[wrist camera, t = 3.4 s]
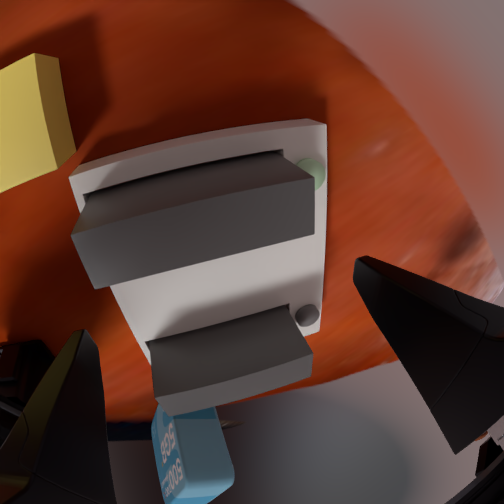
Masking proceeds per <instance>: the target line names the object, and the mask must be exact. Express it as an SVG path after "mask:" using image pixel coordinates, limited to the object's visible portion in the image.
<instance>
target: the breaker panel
mask: <svg viewBox="0 0 504 504" xmlns="http://www.w3.org/2000/svg"><path fill="white" fill-rule="evenodd" d="M264 151H274V152H276V153H278V154H279V155H281V156H282V157H284V158H286V159H287V160H289V161H290V162H292V163H293V164H295V165H297V166H298V167H300V168H301V169H303V170H304V171H306V172H307V173H309V174H310V175H312V176H313V177H315V234H314V235H310V236H306V237H302V238H298V239H294V240H290V241H286V242H282V243H278V244H274V245H270V246H266V247H262V248H258V249H254V250H250V251H246V252H242V253H238V254H234V255H230V256H226V257H222V258H218V259H214V260H210V261H206V262H202V263H198V264H194V265H190V266H186V267H182V268H178V269H174V270H170V271H166V272H162V273H159V274H155V275H151V276H147V277H143V278H139V279H135V280H131V281H127V282H123V283H119V284H115V285H111V286H110V288H111V290H112V292H113V294H114V296H115V298H116V300H117V302H118V304H119V307H120V309H121V311H122V313H123V315H124V317H125V319H126V321H127V322H128V324H129V326H130V328H131V330H132V332H133V334H134V336H135V338H136V340H137V341H138V343H139V345H140V347H141V349H142V350H143V352H144V354H145V356H146V357H147V359H148V361H149V363H150V364H151V358H150V346H149V340H154V339H158V338H162V337H166V336H171V335H175V334H179V333H183V332H187V331H191V330H195V329H199V328H203V327H206V326H210V325H214V324H218V323H222V322H225V321H229V320H233V319H236V318H240V317H243V316H247V315H250V314H254V313H257V312H261V311H264V310H268V309H271V308H275V307H278V306H281V305H285V306H286V307H287V309H288V311H289V313H290V314H291V316H292V318H293V319H294V321H295V323H296V325H297V326H298V328H299V330H300V332H301V333H302V335H303V337H304V336H307V335H310V334H313V333H316V332H318V331H319V329H320V318H321V306H322V293H323V279H324V262H325V242H326V213H327V127H326V124H324V123H321V122H317V121H314V120H311V119H296V120H286V121H277V122H269V123H261V124H254V125H247V126H240V127H234V128H227V129H222V130H216V131H210V132H205V133H200V134H195V135H190V136H185V137H180V138H176V139H171V140H167V141H162V142H158V143H154V144H150V145H146V146H142V147H138V148H135V149H131V150H127V151H124V152H120V153H117V154H113V155H110V156H106V157H103V158H100V159H97V160H93V161H90V162H87V163H84V164H81V165H79V166H78V167H77V168H76V169H75V170H74V171H73V172H72V174H71V175H70V176H69V181H70V184H71V187H72V190H73V193H74V196H75V199H76V202H77V205H78V208H79V211H80V214H81V212H82V210H83V208H84V206H85V204H86V202H87V200H88V198H89V196H90V194H91V193H92V192H94V191H95V190H98V189H102V188H105V187H108V186H112V185H115V184H119V183H122V182H126V181H129V180H133V179H137V178H141V177H144V176H148V175H152V174H156V173H160V172H164V171H168V170H173V169H177V168H181V167H186V166H190V165H195V164H199V163H204V162H209V161H214V160H219V159H224V158H229V157H235V156H240V155H246V154H252V153H258V152H264Z"/></svg>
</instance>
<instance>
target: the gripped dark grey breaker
mask: <svg viewBox="0 0 504 504" xmlns="http://www.w3.org/2000/svg"><path fill="white" fill-rule="evenodd" d="M314 234H315V177H313V176H312V175H310V174H309V173H307V172H306V171H304V170H303V169H301V168H300V167H298V166H297V165H295V164H293V163H292V162H290V161H289V160H287V159H286V158H284V157H282V156H281V155H279V154H278V153H276V152H274V151H268V152H262V153H256V154H250V155H244V156H239V157H233V158H228V159H223V160H218V161H213V162H208V163H203V164H198V165H193V166H189V167H184V168H180V169H176V170H171V171H167V172H163V173H159V174H155V175H151V176H147V177H143V178H140V179H136V180H132V181H128V182H125V183H121V184H118V185H114V186H111V187H107V188H104V189H101V190H97V191H94V192H92V193H91V194H90V196H89V198H88V200H87V202H86V204H85V206H84V208H83V210H82V212H81V214H80V216H79V218H78V220H77V222H76V224H75V227H74V229H73V231H72V233H71V238H72V240H73V242H74V245H75V247H76V250H77V252H78V254H79V256H80V259H81V261H82V263H83V265H84V268H85V270H86V272H87V274H88V276H89V278H90V281H91V283H92V285H93V287H94V289H99V288H103V287H107V286H111V285H115V284H119V283H123V282H127V281H131V280H135V279H139V278H143V277H147V276H151V275H155V274H159V273H162V272H166V271H170V270H174V269H178V268H182V267H186V266H190V265H194V264H198V263H202V262H206V261H210V260H214V259H218V258H222V257H226V256H230V255H234V254H238V253H242V252H246V251H250V250H254V249H258V248H262V247H266V246H270V245H274V244H278V243H282V242H286V241H290V240H294V239H298V238H302V237H306V236H310V235H314Z"/></svg>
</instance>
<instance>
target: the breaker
mask: <svg viewBox="0 0 504 504" xmlns="http://www.w3.org/2000/svg"><path fill="white" fill-rule="evenodd" d="M149 346H150V358H151V369H152V379H153V388H154V396H155V399H156V400H157V402H158V403H159V404H160V406H161V407H162V408H163V410H164V411H165V412H166V414H167V415H168V416H169V417H170V416H175V415H179V414H184V413H189V412H193V411H198V410H202V409H206V408H210V407H214V406H218V405H222V404H226V403H229V402H233V401H237V400H240V399H244V398H247V397H250V396H254V395H257V394H260V393H263V392H267V391H270V390H273V389H276V388H279V387H282V386H285V385H288V384H291V383H294V382H296V381H299V380H302V379H305V378H307V377H310V376H311V370H312V361H313V352H312V350H311V349H310V347H309V345H308V344H307V342H306V340H305V338H304V337H303V335H302V333H301V332H300V330H299V328H298V326H297V325H296V323H295V321H294V319H293V318H292V316H291V314H290V313H289V311H288V309H287V307H286V306H285V305H281V306H278V307H275V308H271V309H268V310H264V311H261V312H257V313H254V314H250V315H247V316H243V317H240V318H236V319H233V320H229V321H225V322H222V323H218V324H214V325H210V326H206V327H203V328H199V329H195V330H191V331H187V332H183V333H179V334H175V335H171V336H166V337H162V338H158V339H154V340H149Z"/></svg>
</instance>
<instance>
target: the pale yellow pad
mask: <svg viewBox="0 0 504 504" xmlns="http://www.w3.org/2000/svg"><path fill="white" fill-rule="evenodd" d="M75 152H76V147H75V143H74V139H73V135H72V130H71V126H70V122H69V117H68V112H67V107H66V102H65V97H64V91H63V85H62V79H61V72H60V65H59V58H56V57H51V56H47V55H42V54H37V53H33V54H31V55H29V56H27V57H25V58H23V59H21V60H19V61H17V62H15V63H13V64H11V65H9V66H7V67H5V68H3V69H2V70H0V193H1V192H3V191H5V190H7V189H10V188H12V187H14V186H16V185H19V184H21V183H24V182H26V181H28V180H31V179H33V178H36V177H38V176H41V175H43V174H46V173H48V172H51V171H54V170H56V169H58V168H59V167H60V166H61V165H62V164H63V163H65V162H66V161H67V160H68V159H69V158H70V157H71V156H72V155H73V154H74V153H75Z"/></svg>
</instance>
